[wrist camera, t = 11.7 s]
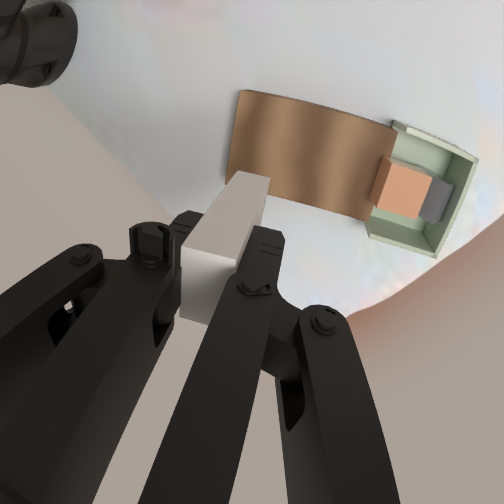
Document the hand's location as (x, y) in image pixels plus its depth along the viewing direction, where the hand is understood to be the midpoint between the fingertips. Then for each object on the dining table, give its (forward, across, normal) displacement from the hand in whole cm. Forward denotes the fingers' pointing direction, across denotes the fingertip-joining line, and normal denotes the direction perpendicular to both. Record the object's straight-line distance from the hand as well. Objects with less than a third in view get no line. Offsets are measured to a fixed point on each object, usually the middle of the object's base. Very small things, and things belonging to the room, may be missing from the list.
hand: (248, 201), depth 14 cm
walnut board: (+23, +3, -2) cm, 24 cm away
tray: (+23, +17, -2) cm, 28 cm away
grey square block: (+19, +17, -2) cm, 25 cm away
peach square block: (+19, +13, -2) cm, 23 cm away
